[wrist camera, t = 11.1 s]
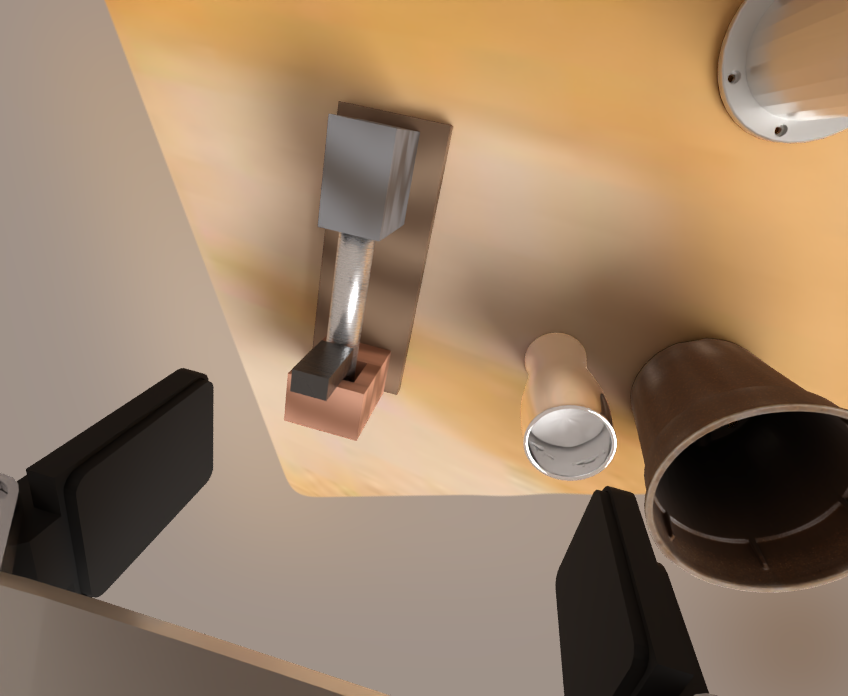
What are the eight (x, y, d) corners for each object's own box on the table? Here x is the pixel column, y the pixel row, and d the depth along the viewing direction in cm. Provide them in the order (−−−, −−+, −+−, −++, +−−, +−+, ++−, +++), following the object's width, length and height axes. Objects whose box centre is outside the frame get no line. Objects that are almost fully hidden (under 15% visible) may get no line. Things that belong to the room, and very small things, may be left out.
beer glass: (576, 398, 49) (598, 494, 35) (511, 379, 49) (508, 467, 36) (601, 338, 46) (636, 419, 32) (532, 319, 46) (537, 390, 33)
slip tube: (351, 185, 39) (307, 195, 31) (386, 193, 38) (350, 206, 30) (327, 382, 47) (286, 432, 39) (355, 390, 46) (320, 442, 38)
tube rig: (344, 102, 42) (290, 89, 32) (453, 126, 41) (431, 119, 31) (315, 365, 53) (268, 416, 43) (400, 388, 52) (372, 445, 42)
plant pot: (723, 485, 50) (808, 625, 35) (580, 428, 50) (605, 544, 36) (828, 356, 43) (988, 464, 28) (660, 292, 43) (732, 366, 29)
